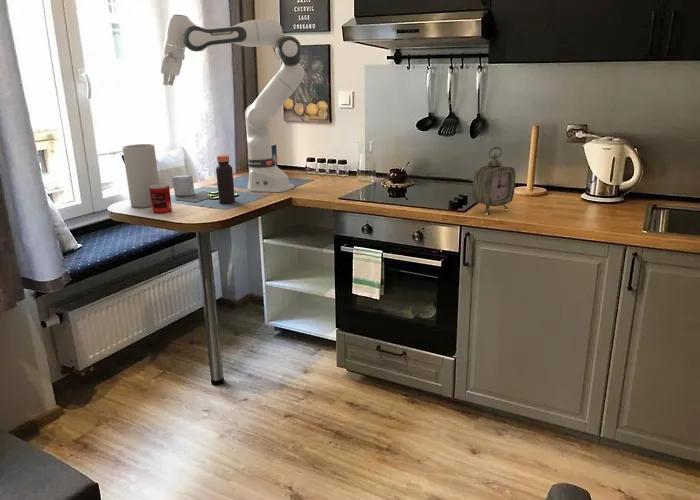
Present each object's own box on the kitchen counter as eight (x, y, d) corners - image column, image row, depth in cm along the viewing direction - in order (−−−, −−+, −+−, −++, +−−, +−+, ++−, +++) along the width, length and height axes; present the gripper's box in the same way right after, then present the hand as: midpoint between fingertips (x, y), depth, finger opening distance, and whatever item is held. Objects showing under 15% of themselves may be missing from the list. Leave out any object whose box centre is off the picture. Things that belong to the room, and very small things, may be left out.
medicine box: (195, 193, 262) (192, 175, 259) (191, 195, 258) (188, 176, 255) (178, 194, 263) (175, 175, 260) (174, 196, 259) (171, 177, 256)
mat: (222, 193, 262) (222, 193, 262) (196, 202, 247) (196, 201, 246) (202, 191, 267) (202, 191, 267) (175, 200, 252) (175, 199, 252)
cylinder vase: (145, 209, 237) (137, 148, 229) (124, 206, 243) (115, 147, 235) (167, 202, 247) (160, 144, 239) (147, 200, 253) (139, 143, 245)
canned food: (167, 208, 238) (163, 182, 234) (175, 211, 232) (172, 185, 228) (149, 211, 233) (145, 185, 229) (157, 215, 227) (153, 188, 224)
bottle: (216, 202, 246) (212, 155, 240) (230, 199, 250) (226, 154, 244) (223, 205, 241) (218, 157, 235) (238, 202, 245) (233, 155, 239)
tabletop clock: (486, 217, 213) (490, 150, 205) (469, 212, 220) (472, 147, 212) (513, 211, 220) (517, 146, 212) (495, 206, 227) (499, 143, 220)
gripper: (175, 53, 238) (169, 87, 242) (185, 56, 258) (180, 87, 261) (160, 49, 237) (154, 83, 241) (171, 52, 257) (166, 83, 261)
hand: (168, 85), depth 251 cm, fingers open, 8 cm apart
